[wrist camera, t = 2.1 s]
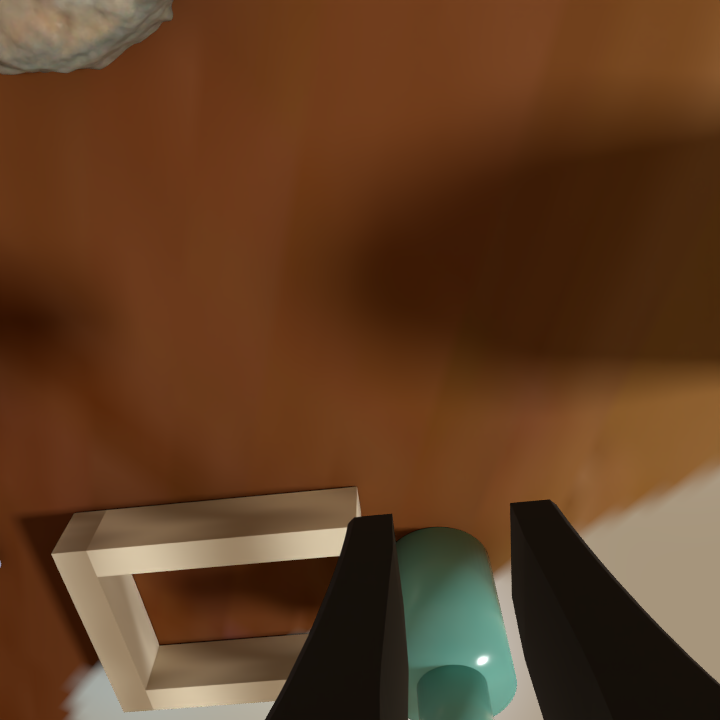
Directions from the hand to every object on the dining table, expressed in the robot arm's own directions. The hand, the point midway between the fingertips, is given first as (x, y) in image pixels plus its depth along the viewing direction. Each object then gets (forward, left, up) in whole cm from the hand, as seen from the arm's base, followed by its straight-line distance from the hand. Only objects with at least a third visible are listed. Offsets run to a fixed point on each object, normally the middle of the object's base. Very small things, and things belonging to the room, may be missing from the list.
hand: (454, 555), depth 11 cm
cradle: (-7, -11, -10) cm, 17 cm away
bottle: (0, -11, -10) cm, 15 cm away
